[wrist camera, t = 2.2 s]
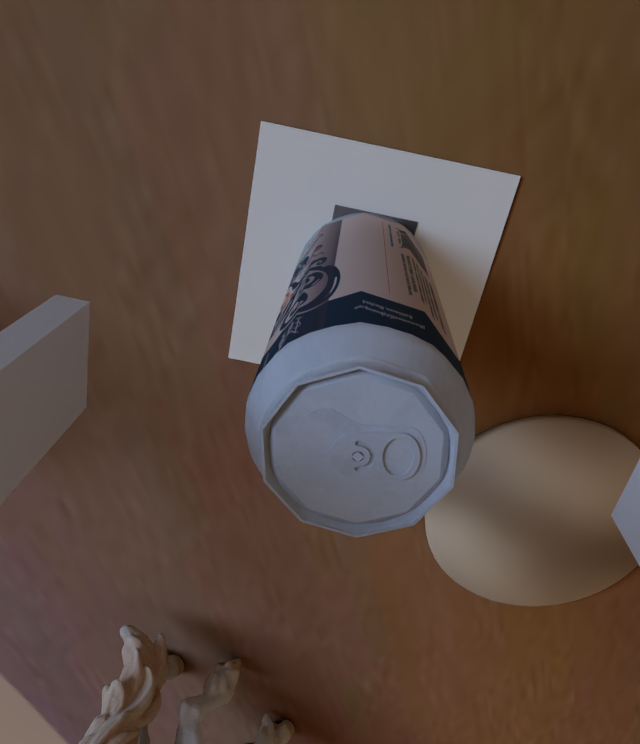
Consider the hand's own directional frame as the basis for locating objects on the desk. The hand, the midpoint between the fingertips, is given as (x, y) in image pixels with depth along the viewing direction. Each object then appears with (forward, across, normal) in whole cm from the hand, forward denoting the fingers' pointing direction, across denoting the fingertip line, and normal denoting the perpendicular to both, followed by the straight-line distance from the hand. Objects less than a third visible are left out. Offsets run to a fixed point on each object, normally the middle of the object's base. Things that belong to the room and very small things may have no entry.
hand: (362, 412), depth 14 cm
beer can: (+10, 0, 0) cm, 10 cm away
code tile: (+10, 0, 0) cm, 10 cm away
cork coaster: (+10, +10, -9) cm, 16 cm away
